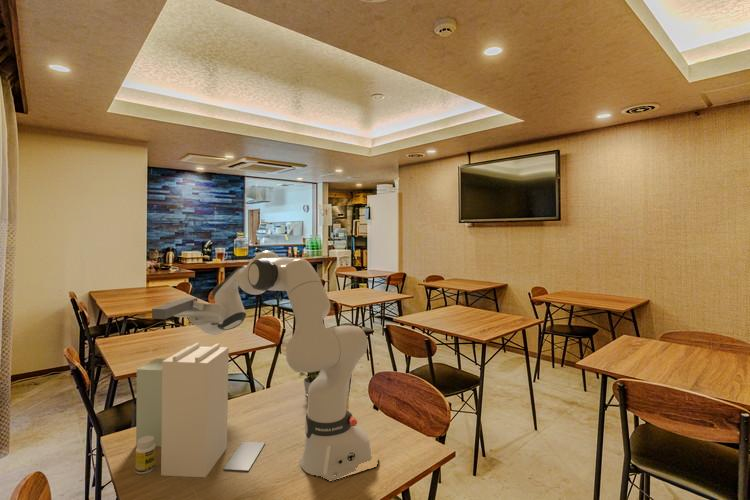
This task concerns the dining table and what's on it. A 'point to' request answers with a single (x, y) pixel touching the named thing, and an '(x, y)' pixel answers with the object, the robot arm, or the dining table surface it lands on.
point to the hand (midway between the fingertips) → (185, 302)
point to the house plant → (309, 379)
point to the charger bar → (172, 308)
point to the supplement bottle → (145, 455)
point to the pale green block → (149, 401)
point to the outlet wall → (194, 410)
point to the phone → (244, 457)
